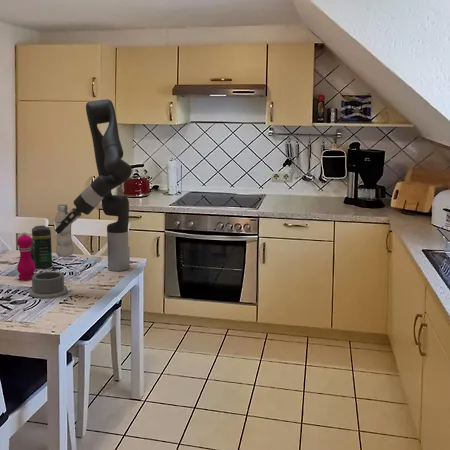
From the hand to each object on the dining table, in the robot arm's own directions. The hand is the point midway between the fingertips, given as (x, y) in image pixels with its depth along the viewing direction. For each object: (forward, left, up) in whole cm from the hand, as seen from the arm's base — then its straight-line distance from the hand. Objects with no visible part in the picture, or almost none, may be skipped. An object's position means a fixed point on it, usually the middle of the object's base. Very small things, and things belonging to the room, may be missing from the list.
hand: (59, 230), depth 209 cm
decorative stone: (-32, -45, -25) cm, 60 cm away
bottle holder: (+3, -4, -24) cm, 25 cm away
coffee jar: (-24, -32, -25) cm, 47 cm away
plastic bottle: (0, +2, -10) cm, 11 cm away
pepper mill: (-7, -25, -25) cm, 36 cm away
